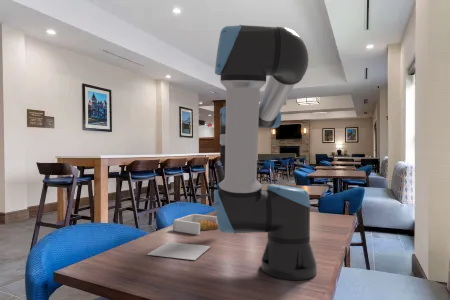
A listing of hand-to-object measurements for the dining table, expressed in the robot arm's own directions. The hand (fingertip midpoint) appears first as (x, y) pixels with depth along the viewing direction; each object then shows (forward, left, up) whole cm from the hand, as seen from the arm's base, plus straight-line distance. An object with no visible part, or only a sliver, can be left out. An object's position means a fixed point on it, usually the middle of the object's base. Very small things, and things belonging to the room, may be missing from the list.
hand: (229, 203), depth 118 cm
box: (+1, +17, -12) cm, 21 cm away
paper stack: (-21, +1, -13) cm, 25 cm away
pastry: (+4, +14, -13) cm, 19 cm away
